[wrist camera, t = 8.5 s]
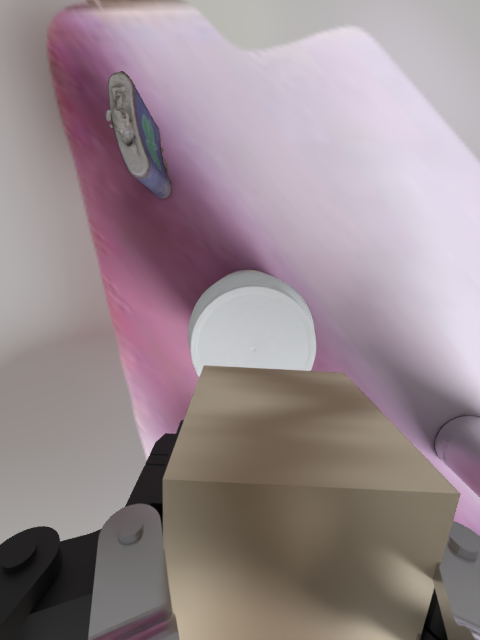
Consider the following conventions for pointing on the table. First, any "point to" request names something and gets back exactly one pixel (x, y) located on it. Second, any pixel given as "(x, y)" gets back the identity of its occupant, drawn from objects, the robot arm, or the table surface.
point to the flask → (137, 135)
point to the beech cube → (299, 512)
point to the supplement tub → (252, 325)
